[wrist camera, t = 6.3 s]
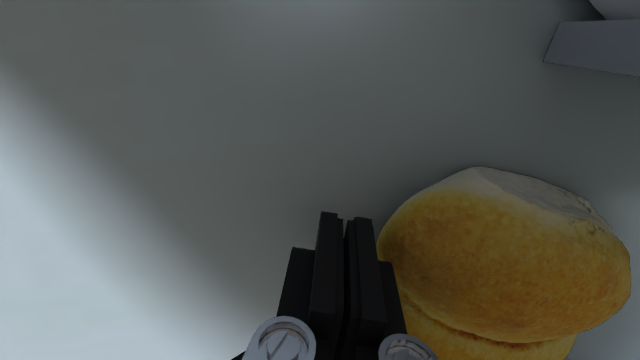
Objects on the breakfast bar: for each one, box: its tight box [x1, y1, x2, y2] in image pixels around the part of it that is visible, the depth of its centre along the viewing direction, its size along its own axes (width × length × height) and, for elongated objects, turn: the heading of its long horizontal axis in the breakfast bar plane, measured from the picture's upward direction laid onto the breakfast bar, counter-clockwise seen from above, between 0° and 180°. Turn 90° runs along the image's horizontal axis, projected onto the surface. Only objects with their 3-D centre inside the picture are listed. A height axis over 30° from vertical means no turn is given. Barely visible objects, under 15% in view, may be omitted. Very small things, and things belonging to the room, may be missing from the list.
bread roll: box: [376, 166, 631, 360], centre depth 11 cm, size 8×9×4 cm
